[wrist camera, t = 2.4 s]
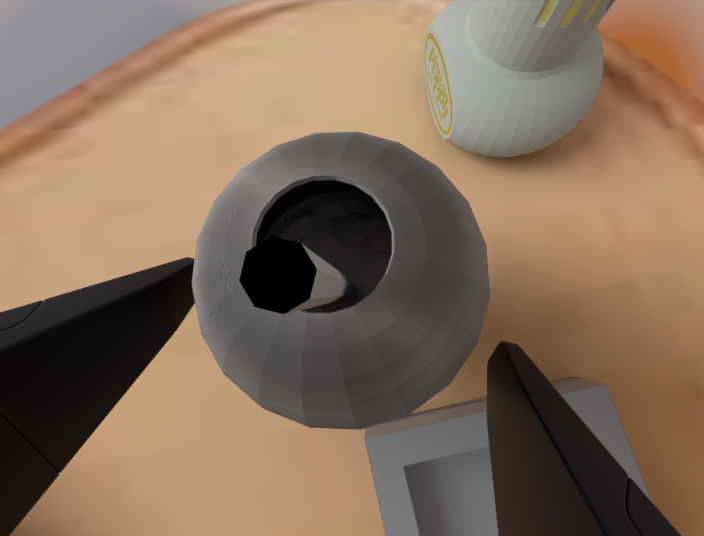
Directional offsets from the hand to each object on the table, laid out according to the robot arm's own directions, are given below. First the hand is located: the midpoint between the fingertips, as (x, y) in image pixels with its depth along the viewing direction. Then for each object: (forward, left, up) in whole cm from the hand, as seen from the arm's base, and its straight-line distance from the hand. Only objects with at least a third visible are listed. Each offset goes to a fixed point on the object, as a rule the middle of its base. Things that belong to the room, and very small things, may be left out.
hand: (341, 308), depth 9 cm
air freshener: (+13, -12, -11) cm, 21 cm away
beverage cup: (+1, 0, -11) cm, 11 cm away
